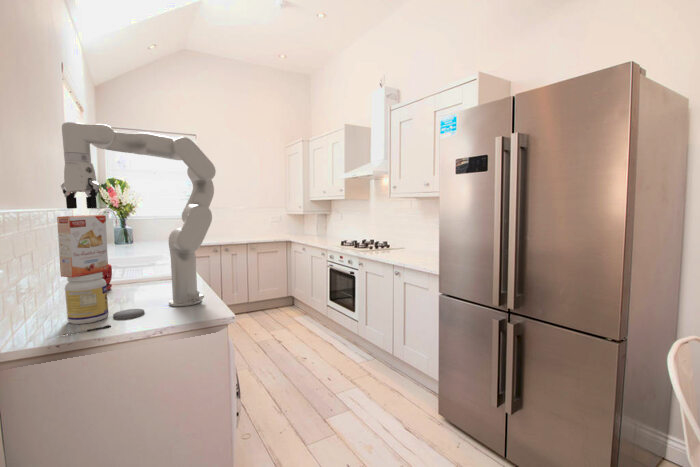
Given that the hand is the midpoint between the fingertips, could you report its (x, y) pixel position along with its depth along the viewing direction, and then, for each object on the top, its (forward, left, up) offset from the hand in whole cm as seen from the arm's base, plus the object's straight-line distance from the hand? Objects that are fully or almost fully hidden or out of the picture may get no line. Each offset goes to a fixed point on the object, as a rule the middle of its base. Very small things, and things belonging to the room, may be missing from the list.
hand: (81, 208), depth 129 cm
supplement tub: (0, 0, -41) cm, 41 cm away
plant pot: (+39, -33, -41) cm, 65 cm away
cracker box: (0, 0, -24) cm, 24 cm away
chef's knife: (-9, +11, -41) cm, 43 cm away
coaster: (-10, -8, -40) cm, 42 cm away
